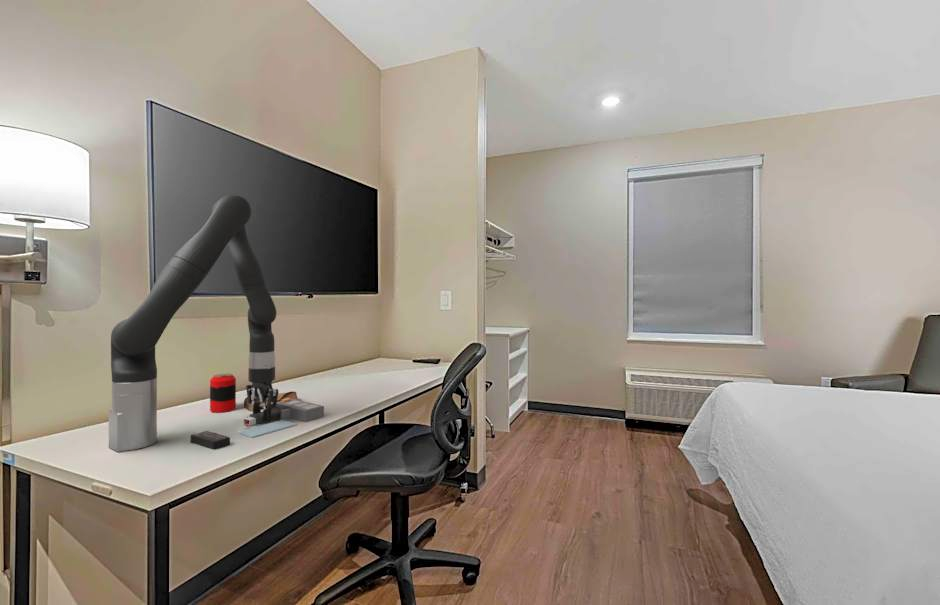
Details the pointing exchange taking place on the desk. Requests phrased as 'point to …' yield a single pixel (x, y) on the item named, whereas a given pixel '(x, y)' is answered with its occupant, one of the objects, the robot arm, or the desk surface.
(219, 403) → the soda can
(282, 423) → the silicone mat
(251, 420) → the usb drive
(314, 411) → the grey stepped block
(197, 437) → the multiport hub
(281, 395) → the sunglasses case
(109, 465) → the desk surface
